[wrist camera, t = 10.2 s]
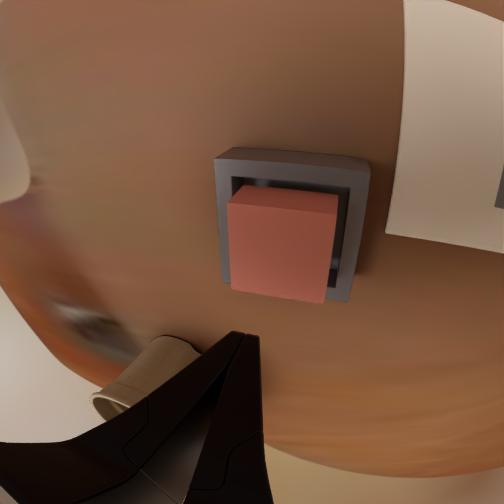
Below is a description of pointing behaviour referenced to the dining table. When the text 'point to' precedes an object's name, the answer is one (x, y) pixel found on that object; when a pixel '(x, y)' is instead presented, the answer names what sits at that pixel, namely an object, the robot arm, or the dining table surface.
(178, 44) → the dining table surface
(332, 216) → the button
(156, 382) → the flower pot
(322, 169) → the button housing
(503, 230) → the paper sheet
